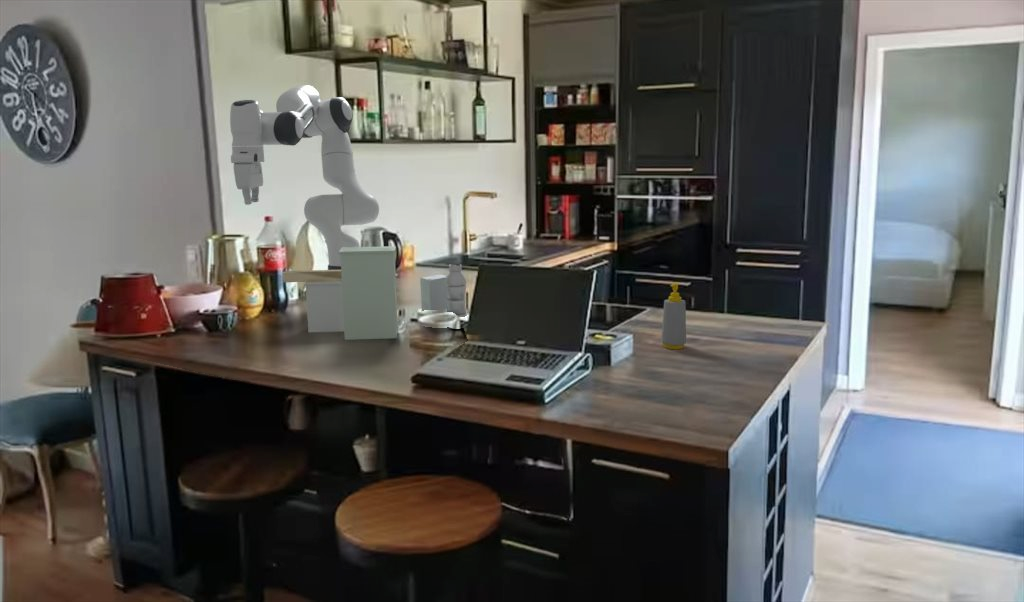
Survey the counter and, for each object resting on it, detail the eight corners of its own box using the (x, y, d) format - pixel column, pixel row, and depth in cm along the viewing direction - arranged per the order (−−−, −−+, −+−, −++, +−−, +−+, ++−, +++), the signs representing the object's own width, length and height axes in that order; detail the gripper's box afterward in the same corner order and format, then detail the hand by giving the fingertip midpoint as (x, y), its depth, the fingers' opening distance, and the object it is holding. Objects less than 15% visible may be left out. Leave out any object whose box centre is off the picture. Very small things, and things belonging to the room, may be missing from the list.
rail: (284, 280, 246) (284, 271, 245) (364, 278, 248) (363, 269, 248) (283, 282, 243) (282, 272, 242) (363, 280, 245) (362, 270, 245)
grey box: (312, 325, 253) (309, 278, 250) (352, 324, 254) (350, 277, 251) (307, 332, 243) (304, 283, 240) (349, 331, 244) (346, 282, 241)
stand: (346, 332, 243) (342, 247, 238) (398, 330, 244) (395, 246, 239) (343, 340, 233) (339, 251, 228) (397, 338, 235) (394, 250, 230)
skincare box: (442, 318, 261) (441, 273, 258) (453, 321, 256) (452, 276, 253) (420, 322, 255) (419, 276, 253) (431, 325, 251) (429, 279, 248)
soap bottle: (657, 348, 221) (659, 284, 217) (665, 342, 227) (666, 280, 223) (682, 350, 217) (684, 286, 214) (689, 345, 223) (691, 281, 220)
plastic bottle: (467, 331, 242) (465, 266, 238) (444, 331, 242) (443, 266, 239) (468, 326, 249) (467, 263, 245) (446, 327, 249) (445, 263, 245)
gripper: (245, 155, 246) (248, 201, 249) (229, 157, 226) (232, 206, 229) (266, 155, 247) (269, 200, 250) (251, 156, 227) (255, 205, 230)
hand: (251, 203), depth 239 cm, fingers open, 8 cm apart
